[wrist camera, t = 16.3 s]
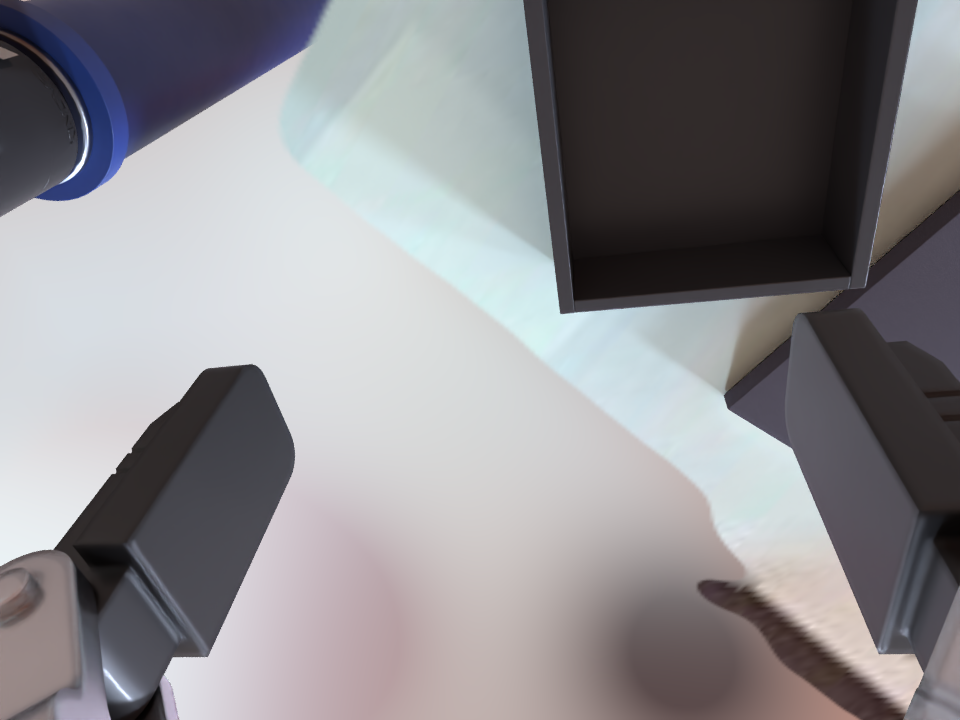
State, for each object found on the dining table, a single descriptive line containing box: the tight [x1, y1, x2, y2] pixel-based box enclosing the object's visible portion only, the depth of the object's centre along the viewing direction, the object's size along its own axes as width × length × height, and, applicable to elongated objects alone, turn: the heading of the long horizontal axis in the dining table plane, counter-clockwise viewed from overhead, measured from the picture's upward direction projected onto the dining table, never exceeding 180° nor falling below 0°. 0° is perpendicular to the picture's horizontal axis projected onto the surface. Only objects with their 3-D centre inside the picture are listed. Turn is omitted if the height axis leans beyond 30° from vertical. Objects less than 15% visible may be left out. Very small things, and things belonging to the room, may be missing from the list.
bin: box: [523, 0, 918, 314], centre depth 33 cm, size 16×18×6 cm
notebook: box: [724, 191, 960, 448], centre depth 40 cm, size 13×2×21 cm
